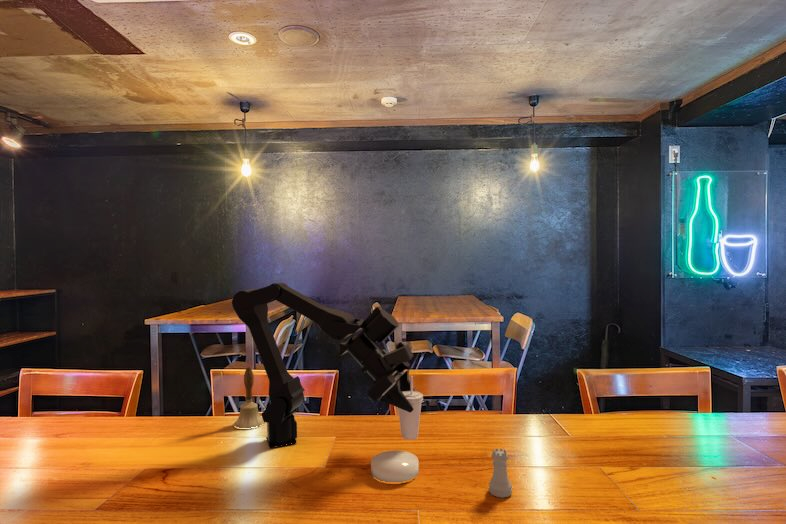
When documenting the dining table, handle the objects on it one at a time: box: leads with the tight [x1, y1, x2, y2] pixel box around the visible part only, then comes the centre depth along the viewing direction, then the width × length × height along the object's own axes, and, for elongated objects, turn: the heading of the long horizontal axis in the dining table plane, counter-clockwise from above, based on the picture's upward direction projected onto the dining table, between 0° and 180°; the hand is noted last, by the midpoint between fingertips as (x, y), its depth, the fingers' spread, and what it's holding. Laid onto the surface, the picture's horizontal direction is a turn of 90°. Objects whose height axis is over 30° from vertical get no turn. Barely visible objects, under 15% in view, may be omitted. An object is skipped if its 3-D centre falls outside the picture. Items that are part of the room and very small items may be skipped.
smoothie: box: [397, 375, 424, 441], centre depth 103 cm, size 6×6×14 cm
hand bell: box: [233, 366, 266, 428], centre depth 124 cm, size 8×8×16 cm
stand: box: [370, 450, 420, 482], centre depth 94 cm, size 10×10×2 cm
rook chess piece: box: [488, 448, 513, 499], centre depth 86 cm, size 4×4×8 cm
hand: (415, 406), depth 103 cm, fingers closed on smoothie, 6 cm apart
